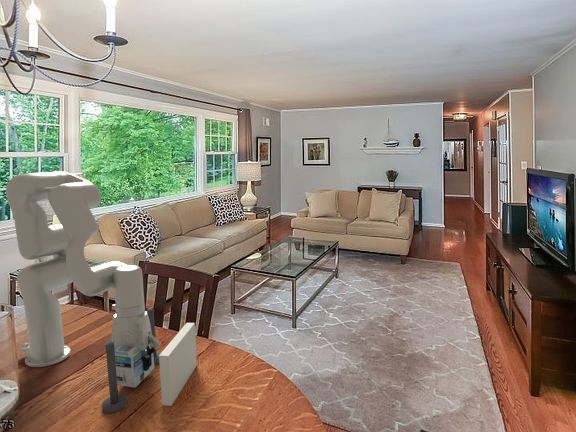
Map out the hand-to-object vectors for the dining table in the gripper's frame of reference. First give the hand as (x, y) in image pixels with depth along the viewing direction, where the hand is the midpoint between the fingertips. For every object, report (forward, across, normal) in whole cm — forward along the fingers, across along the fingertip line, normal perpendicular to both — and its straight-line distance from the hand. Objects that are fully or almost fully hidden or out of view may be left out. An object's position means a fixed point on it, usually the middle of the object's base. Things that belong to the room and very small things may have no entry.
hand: (134, 367), depth 115 cm
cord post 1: (+4, 0, -12) cm, 12 cm away
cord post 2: (+4, 0, +12) cm, 12 cm away
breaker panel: (+4, +14, 0) cm, 14 cm away
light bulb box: (+3, 0, 0) cm, 3 cm away
